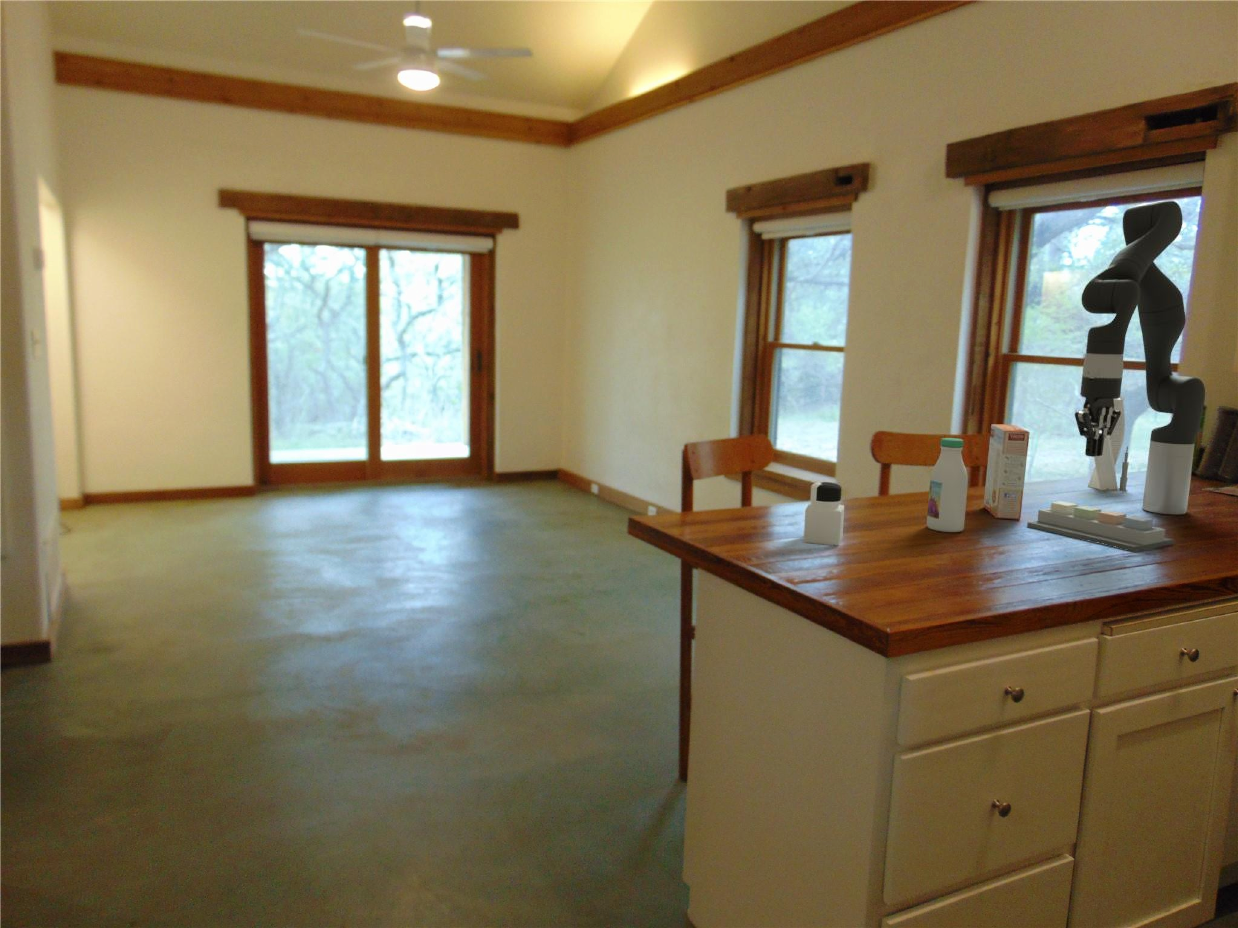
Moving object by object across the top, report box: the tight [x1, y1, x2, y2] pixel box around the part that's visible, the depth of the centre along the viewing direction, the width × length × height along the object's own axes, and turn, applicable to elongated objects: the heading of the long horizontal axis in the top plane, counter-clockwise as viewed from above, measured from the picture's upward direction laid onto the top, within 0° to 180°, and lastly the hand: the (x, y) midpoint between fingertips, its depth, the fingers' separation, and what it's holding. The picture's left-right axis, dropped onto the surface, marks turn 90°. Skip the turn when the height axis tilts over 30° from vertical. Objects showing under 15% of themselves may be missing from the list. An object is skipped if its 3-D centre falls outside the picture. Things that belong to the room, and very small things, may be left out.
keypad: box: [1026, 507, 1174, 553], centre depth 190 cm, size 14×24×4 cm, turn 30°
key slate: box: [1123, 515, 1154, 531], centre depth 183 cm, size 4×4×3 cm
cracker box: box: [983, 423, 1030, 521], centre depth 209 cm, size 14×6×21 cm, turn 168°
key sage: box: [1074, 505, 1102, 520], centre depth 192 cm, size 4×4×3 cm
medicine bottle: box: [803, 481, 845, 547], centre depth 180 cm, size 7×7×12 cm
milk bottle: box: [926, 437, 969, 533], centre depth 192 cm, size 8×8×20 cm
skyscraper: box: [1087, 395, 1130, 492], centre depth 244 cm, size 8×8×28 cm
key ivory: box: [1050, 500, 1079, 515], centre depth 197 cm, size 4×4×3 cm
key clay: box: [1098, 510, 1127, 525], centre depth 188 cm, size 4×4×3 cm
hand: (1093, 455), depth 190 cm, fingers closed
